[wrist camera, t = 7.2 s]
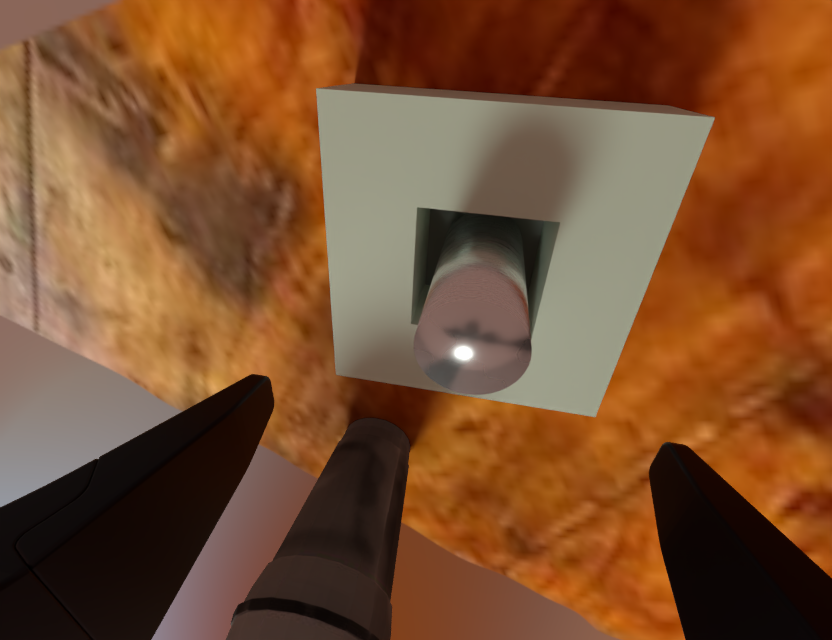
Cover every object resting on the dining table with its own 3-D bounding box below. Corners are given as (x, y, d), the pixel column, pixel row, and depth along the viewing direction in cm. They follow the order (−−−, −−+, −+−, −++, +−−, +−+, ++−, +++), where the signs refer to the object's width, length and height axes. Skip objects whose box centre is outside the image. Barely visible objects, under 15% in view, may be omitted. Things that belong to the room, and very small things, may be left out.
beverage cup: (318, 395, 26) (0, 964, 10) (430, 408, 25) (285, 1081, 9) (333, 470, 30) (123, 969, 14) (431, 483, 29) (332, 1050, 12)
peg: (529, 212, 18) (544, 310, 11) (514, 284, 20) (519, 403, 13) (448, 203, 18) (416, 292, 11) (441, 274, 20) (410, 385, 13)
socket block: (668, 105, 15) (715, 117, 12) (581, 362, 22) (595, 417, 18) (354, 83, 17) (316, 88, 13) (360, 329, 23) (335, 374, 20)
